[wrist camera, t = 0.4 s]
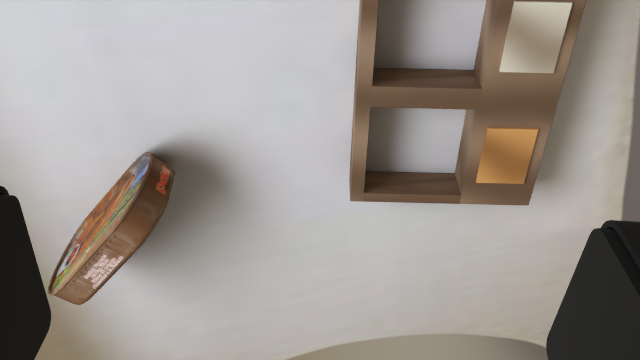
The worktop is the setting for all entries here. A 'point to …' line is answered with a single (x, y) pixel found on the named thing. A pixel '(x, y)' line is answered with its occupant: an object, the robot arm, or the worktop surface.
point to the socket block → (473, 105)
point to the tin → (113, 230)
